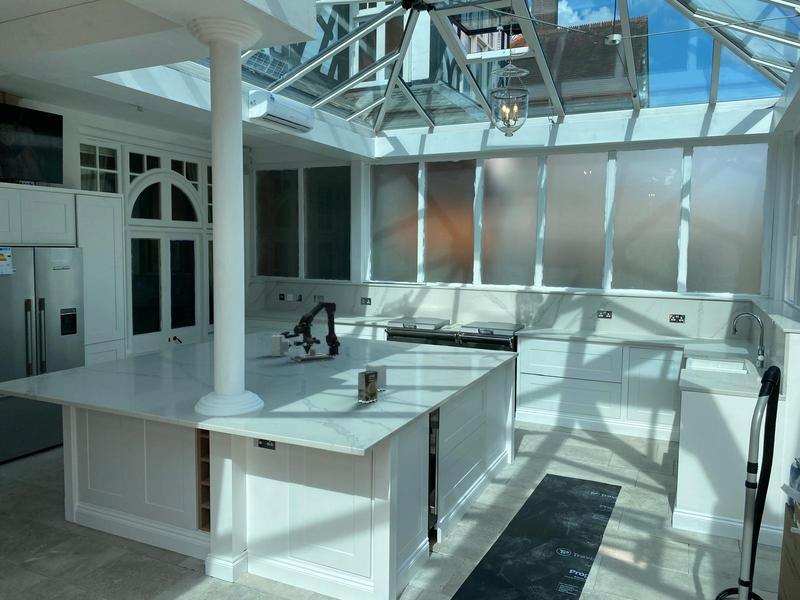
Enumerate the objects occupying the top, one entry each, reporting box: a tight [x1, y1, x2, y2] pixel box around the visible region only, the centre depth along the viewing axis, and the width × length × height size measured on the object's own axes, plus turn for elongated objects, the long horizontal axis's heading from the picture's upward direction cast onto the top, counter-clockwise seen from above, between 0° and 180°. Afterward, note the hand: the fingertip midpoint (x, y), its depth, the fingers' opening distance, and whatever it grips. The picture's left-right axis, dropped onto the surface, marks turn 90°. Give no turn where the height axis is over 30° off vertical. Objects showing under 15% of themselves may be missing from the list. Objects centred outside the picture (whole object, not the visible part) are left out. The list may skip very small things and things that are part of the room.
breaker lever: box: [309, 347, 316, 356], centre depth 458 cm, size 3×3×6 cm
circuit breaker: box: [270, 334, 293, 357], centre depth 471 cm, size 8×14×15 cm, turn 89°
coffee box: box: [357, 370, 379, 401], centre depth 339 cm, size 9×6×16 cm
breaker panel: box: [290, 352, 336, 364], centre depth 458 cm, size 26×20×3 cm
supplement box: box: [365, 362, 387, 389], centre depth 365 cm, size 9×9×15 cm
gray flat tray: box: [293, 355, 332, 361], centre depth 458 cm, size 23×14×1 cm, turn 120°
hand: (307, 354), depth 456 cm, fingers closed
